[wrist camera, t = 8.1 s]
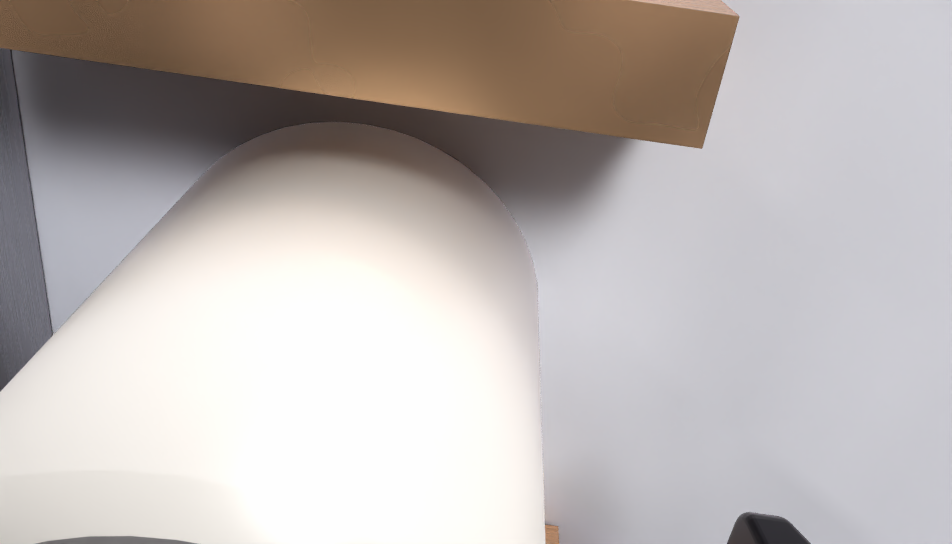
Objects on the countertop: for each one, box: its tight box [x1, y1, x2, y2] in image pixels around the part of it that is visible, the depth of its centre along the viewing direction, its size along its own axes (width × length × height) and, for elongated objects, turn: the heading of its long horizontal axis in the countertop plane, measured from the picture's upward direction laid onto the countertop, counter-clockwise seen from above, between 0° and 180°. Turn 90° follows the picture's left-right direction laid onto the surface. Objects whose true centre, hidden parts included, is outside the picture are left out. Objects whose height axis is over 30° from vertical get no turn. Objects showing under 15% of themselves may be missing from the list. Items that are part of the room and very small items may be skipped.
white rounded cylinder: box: [0, 122, 546, 544], centre depth 8 cm, size 5×5×7 cm
